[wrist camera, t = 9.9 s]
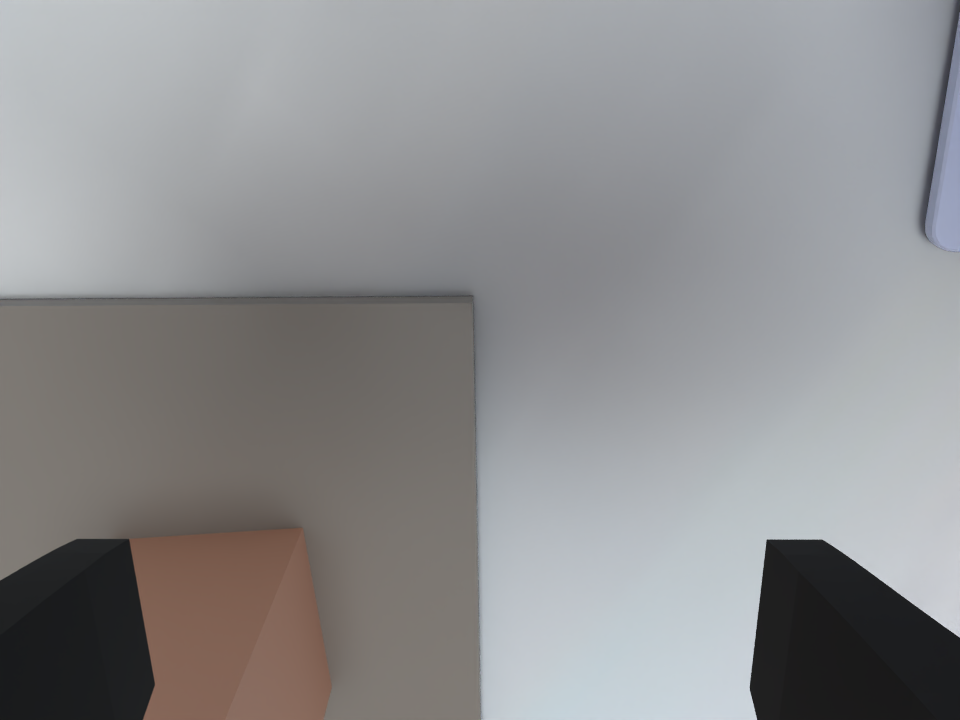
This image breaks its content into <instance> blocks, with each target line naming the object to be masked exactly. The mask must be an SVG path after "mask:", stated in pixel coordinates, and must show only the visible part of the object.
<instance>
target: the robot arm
mask: <svg viewBox="0 0 960 720" xmlns="http://www.w3.org/2000/svg"><path fill="white" fill-rule="evenodd" d="M925 233H926V235H927V237H928V239H929V241H930V242H931V243H933V244H934V245H936V246H937V247H939V248H941V249H943V250H946V251H952V252H960V14H959V20H958V26H957V32H956V38H955V44H954V50H953V56H952V63H951V69H950V75H949V81H948V87H947V93H946V99H945V105H944V111H943V118H942V124H941V130H940V136H939V142H938V148H937V154H936V160H935V166H934V172H933V179H932V185H931V191H930V197H929V203H928V209H927V215H926V221H925ZM154 687H155V681H154V675H153V670H152V664H151V658H150V653H149V647H148V642H147V636H146V630H145V625H144V619H143V614H142V608H141V602H140V597H139V591H138V586H137V580H136V574H135V569H134V563H133V557H132V552H131V546H130V541H129V539H75V540H73V541H71V542H69V543H67V544H65V545H63V546H61V547H59V548H57V549H55V550H53V551H51V552H49V553H47V554H45V555H44V556H42V557H40V558H38V559H36V560H35V561H33V562H31V563H29V564H28V565H26V566H24V567H22V568H21V569H19V570H17V571H16V572H14V573H12V574H10V575H9V576H7V577H5V578H4V579H2V580H0V720H143V718H144V715H145V712H146V710H147V707H148V704H149V701H150V698H151V695H152V692H153V689H154ZM750 692H751V696H752V700H753V704H754V708H755V712H756V716H757V720H960V638H959V637H958V636H956V635H955V634H954V633H952V632H951V631H949V630H948V629H947V628H945V627H944V626H942V625H941V624H940V623H938V622H937V621H935V620H934V619H933V618H931V617H930V616H929V615H927V614H926V613H924V612H923V611H922V610H920V609H919V608H918V607H916V606H915V605H913V604H912V603H911V602H909V601H908V600H907V599H905V598H904V597H902V596H901V595H900V594H898V593H897V592H896V591H894V590H893V589H892V588H890V587H889V586H888V585H886V584H885V583H883V582H882V581H881V580H879V579H878V578H877V577H875V576H874V575H873V574H871V573H870V572H868V571H867V570H866V569H864V568H863V567H862V566H860V565H859V564H857V563H856V562H855V561H853V560H852V559H850V558H849V557H848V556H846V555H845V554H843V553H842V552H840V551H839V550H838V549H836V548H835V547H833V546H831V545H830V544H828V543H827V542H825V541H824V540H767V542H766V551H765V559H764V568H763V577H762V586H761V594H760V603H759V612H758V620H757V629H756V638H755V647H754V655H753V664H752V673H751V681H750Z"/></svg>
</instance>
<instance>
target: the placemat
mask: <svg viewBox="0 0 960 720" xmlns="http://www.w3.org/2000/svg"><path fill="white" fill-rule="evenodd" d="M290 528H303V531H304V537H305V542H306V548H307V553H308V559H309V564H310V570H311V575H312V581H313V586H314V592H315V597H316V603H317V608H318V614H319V619H320V625H321V630H322V636H323V641H324V647H325V652H326V658H327V663H328V669H329V674H330V680H331V685H332V689H331V693H330V696H329V700H328V704H327V708H326V712H325V716H324V719H323V720H481V703H480V648H479V593H478V538H477V483H476V428H475V373H474V318H473V296H423V297H278V298H132V299H0V580H2V579H4V578H5V577H7V576H9V575H10V574H12V573H14V572H16V571H17V570H19V569H21V568H22V567H24V566H26V565H28V564H29V563H31V562H33V561H35V560H36V559H38V558H40V557H42V556H44V555H45V554H47V553H49V552H51V551H53V550H55V549H57V548H59V547H61V546H63V545H65V544H67V543H69V542H71V541H73V540H75V539H134V538H150V537H165V536H181V535H196V534H212V533H228V532H243V531H259V530H275V529H290Z"/></svg>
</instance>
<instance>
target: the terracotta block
mask: <svg viewBox="0 0 960 720" xmlns="http://www.w3.org/2000/svg"><path fill="white" fill-rule="evenodd" d="M129 541H130V546H131V552H132V557H133V563H134V569H135V574H136V580H137V586H138V591H139V597H140V602H141V608H142V614H143V619H144V625H145V630H146V636H147V642H148V647H149V653H150V658H151V664H152V670H153V675H154V681H155V687H154V689H153V692H152V695H151V698H150V701H149V704H148V707H147V710H146V712H145V715H144V718H143V720H323V719H324V716H325V712H326V708H327V704H328V700H329V696H330V693H331V689H332V685H331V680H330V674H329V669H328V663H327V658H326V652H325V647H324V641H323V636H322V630H321V625H320V619H319V614H318V608H317V603H316V597H315V592H314V586H313V581H312V575H311V570H310V564H309V559H308V553H307V548H306V542H305V537H304V531H303V528H290V529H275V530H259V531H243V532H228V533H212V534H196V535H181V536H165V537H150V538H134V539H129Z"/></svg>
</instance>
